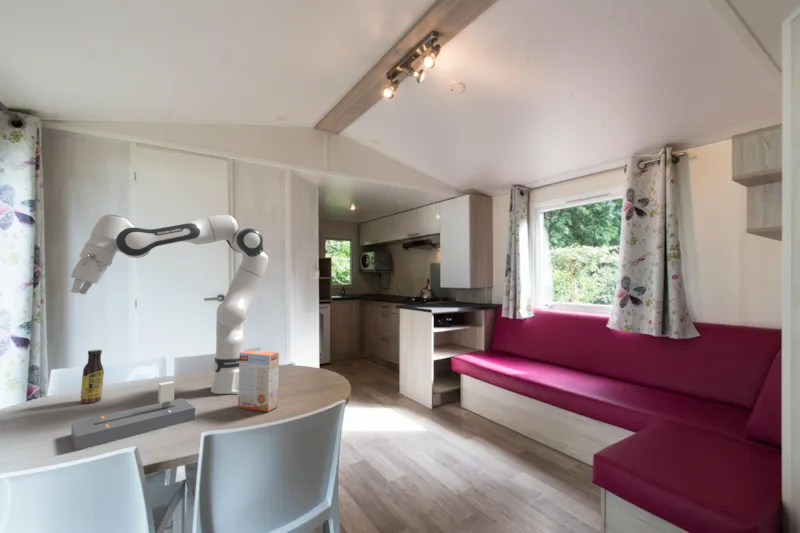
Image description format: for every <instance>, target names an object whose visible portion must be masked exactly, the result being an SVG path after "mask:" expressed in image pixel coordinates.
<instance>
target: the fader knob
mask: <svg viewBox="0 0 800 533" xmlns="http://www.w3.org/2000/svg"><path fill="white" fill-rule="evenodd" d="M173 400H175V382H174V381H173V380H171V381H164V382H159V383H158V390H157V402H158V403H162V407H163V408H165V407H169V406H170V401H173Z"/></svg>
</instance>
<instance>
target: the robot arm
mask: <svg viewBox="0 0 800 533" xmlns="http://www.w3.org/2000/svg"><path fill="white" fill-rule="evenodd" d="M220 241H226V242H227V244H228V245H229V248H231V249H232V250H233V251H234V252H236V253H240V254H241V255H242V260H241V263H240V265H239V267H238V269H237V270H236V273H235V275H234V277H233V278H232V280H231V283H230V284H229V287H228V289H227V292H226V295H225V297H224V299H223V301H222V302H221V303H220V304H219V305H218V307H217V308H216V324H215V326H216V337H215V338H216V339H215V340H216V343H215V348H216V349H215V358H214V362H213V367H214V370H213V371H214V374H213V376H214V378H213V382H212V385H211V387H210V392H211V393H212V394H215V395H217V394H218V395H224V394H225V395H227V394H231V395H238V392H239V358H240V353H241V352H245V332H244V331H245V330H244V322H245V320H246V318H247V315H248V313H249V311H250V308H251V306H252V303H253V301H254V298H255V295H256V292H257V291H258V288H259V285H260V284H261V282H262V279H263V278H264V275H265V273H266V270H267V267H268V263H269V256H268V254H266V252H264V247H263V246H264V245H263V236H262V234H261V233H260V232H259V230H257V229H254V228H250V227H249V228H248V227H247V228H241V227H240V226H239V225H238V221H237V220H236V219H235V217H233V216H232V215H230V214H215V215H209V216H208V215H207V216H203V217H199V218H195V219H191V220H189V221H186V222H183V223H181V224H177V225H171V226H164V227H158V228H153V229H152V228H151V229H149V228H147V229H146V228H142V227H135V226H134V225H133V224H132V223H131V222H130V220H129V219H127V217H123V216H120V215H115V214H105V215H102V216H100V218H99V219H98V221H97V222H96V223H95V225H94V227H93V229H92V230H91V231H90V237H89V239H88V241H86V242H85V243H84V246H83V248H82V249H81V252H80V253H79V255H78V256H79V257H80V259H79V260H78V262H77V264H76V265H75V267H74V268H73V271H72V272H71V278H73V279H74V281H73V284H72V287H71V290H70V292H71V293H75V294H82V295H86V294H87V293H88V291H89V290H90V288H91V287H92V285H93V284H98V283H99V282H100V280H101V279H102V277H103V276H104V275H105V272H106V271H107V268H108V267H111V265H112V263H113V260H114V258H115V256H116V254H117V252H120V253H122V254H124V255H125V256H127V257H129V258H132V259H140V258H144V257H146V256H147V255H149V253H150V252H151V250H152V249H154V248H156V247H160V246H165V245H171V244H175V243H180V242H182V243H183V242H184V243H185V242H186V243H190V244H194V245H204V244H211V243H215V242H220Z"/></svg>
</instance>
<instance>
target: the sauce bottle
mask: <svg viewBox="0 0 800 533" xmlns="http://www.w3.org/2000/svg"><path fill="white" fill-rule="evenodd" d="M102 351H103V350H102V349H90V350H88V352H87V355H88V357H87V359H88V360H87V363H86V364H85V366H84V367H83V371H82V376H81V377H82V379H81V388H80V403H81V404H91V403H92V404H93V403H97V402H99V401H101V399H102V396H103V384H104V373H105V372H104V371H105V370H104V368H103V364H102V361H101V355H102Z"/></svg>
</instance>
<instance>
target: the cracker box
mask: <svg viewBox="0 0 800 533" xmlns="http://www.w3.org/2000/svg"><path fill="white" fill-rule="evenodd" d="M279 358H280V352H273V351H265V350H244V352H241V353H240V358H239V392H238V394H237V395H238V396H237V397H238V398H237V408H239V409H245V410H252V411H258V412H263V413H264V412H265V413H269V412H271V411H272V410H275V409H277V408H278V405H279V404H278V402H279V400H278V399H279V366H280V365H279V360H280V359H279Z"/></svg>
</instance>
